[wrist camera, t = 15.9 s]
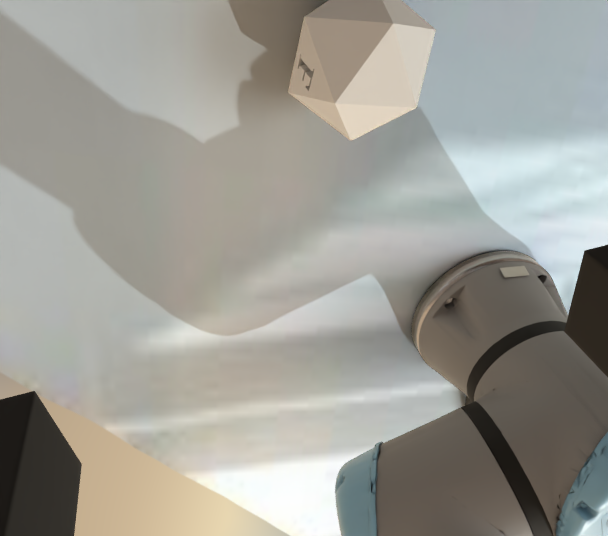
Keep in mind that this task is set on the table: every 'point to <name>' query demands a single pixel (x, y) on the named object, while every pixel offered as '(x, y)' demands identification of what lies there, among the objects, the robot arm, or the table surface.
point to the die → (361, 63)
